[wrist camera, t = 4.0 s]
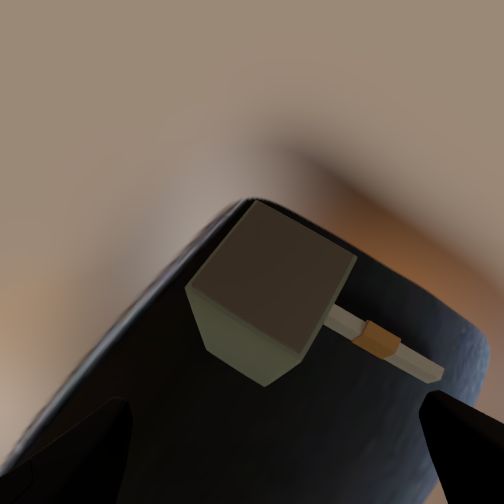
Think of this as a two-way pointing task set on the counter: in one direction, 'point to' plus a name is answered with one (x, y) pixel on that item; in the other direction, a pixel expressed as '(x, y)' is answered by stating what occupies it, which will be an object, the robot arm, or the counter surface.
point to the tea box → (267, 292)
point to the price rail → (382, 344)
